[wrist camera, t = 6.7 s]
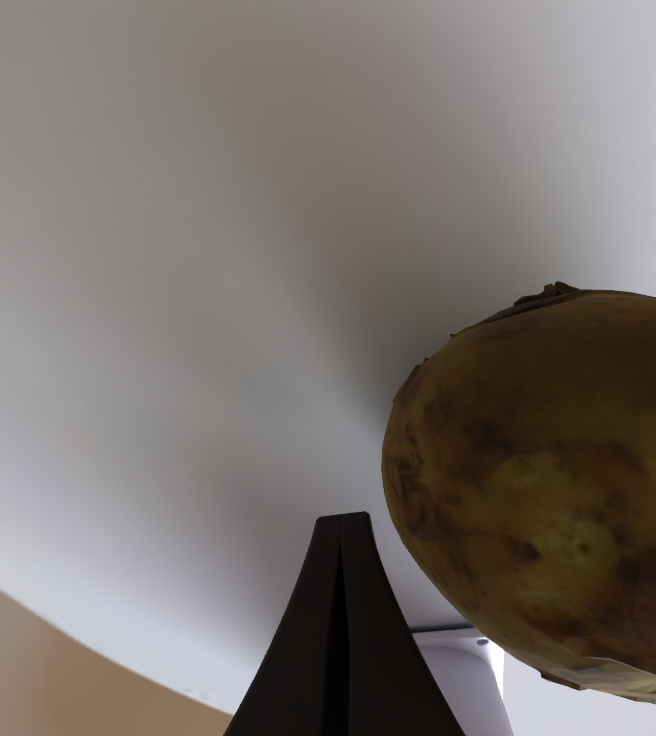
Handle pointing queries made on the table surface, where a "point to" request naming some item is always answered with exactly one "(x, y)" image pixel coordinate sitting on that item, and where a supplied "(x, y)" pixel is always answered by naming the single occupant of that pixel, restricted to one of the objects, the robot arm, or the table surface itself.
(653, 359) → the potato
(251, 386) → the table surface
